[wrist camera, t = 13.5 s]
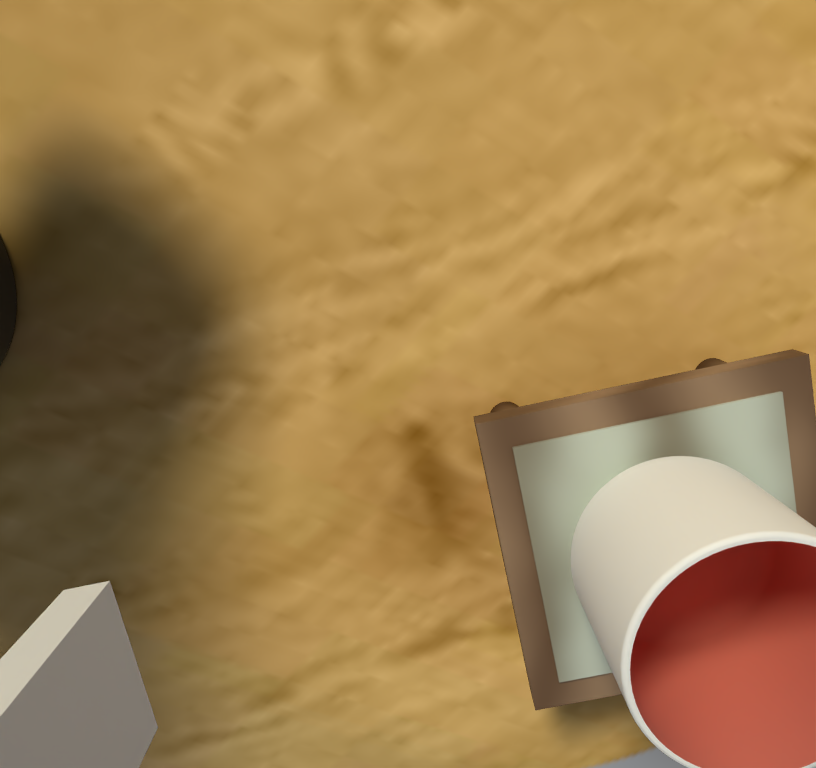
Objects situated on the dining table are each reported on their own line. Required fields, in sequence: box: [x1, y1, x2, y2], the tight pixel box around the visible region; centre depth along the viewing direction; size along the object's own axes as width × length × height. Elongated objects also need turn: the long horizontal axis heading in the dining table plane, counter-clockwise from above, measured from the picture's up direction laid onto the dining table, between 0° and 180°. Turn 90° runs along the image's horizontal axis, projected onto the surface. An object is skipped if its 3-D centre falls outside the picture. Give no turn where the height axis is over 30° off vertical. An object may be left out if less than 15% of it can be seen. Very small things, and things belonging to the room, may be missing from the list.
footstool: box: [474, 349, 816, 710], centre depth 39 cm, size 16×16×7 cm
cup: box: [570, 456, 816, 768], centre depth 30 cm, size 10×10×10 cm
